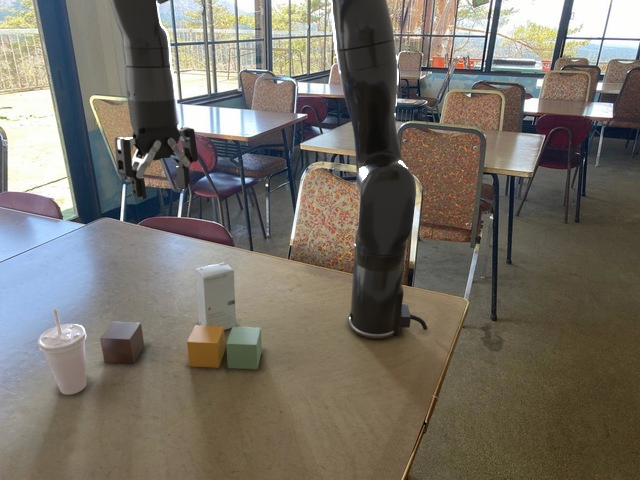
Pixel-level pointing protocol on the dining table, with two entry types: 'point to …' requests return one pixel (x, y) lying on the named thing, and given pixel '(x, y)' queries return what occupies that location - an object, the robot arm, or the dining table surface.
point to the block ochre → (206, 346)
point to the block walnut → (122, 342)
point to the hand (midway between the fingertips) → (163, 192)
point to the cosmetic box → (216, 295)
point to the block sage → (244, 348)
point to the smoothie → (65, 355)
